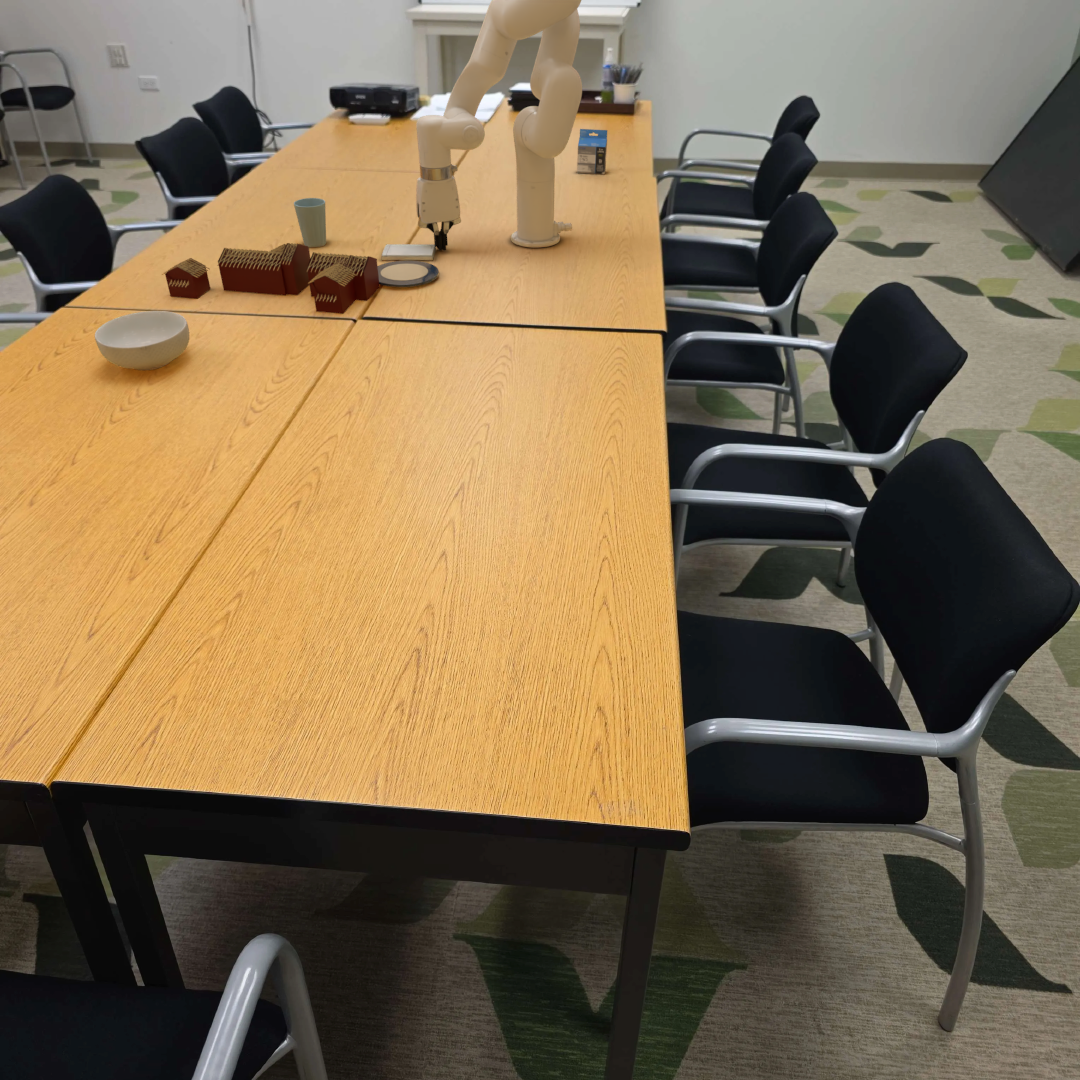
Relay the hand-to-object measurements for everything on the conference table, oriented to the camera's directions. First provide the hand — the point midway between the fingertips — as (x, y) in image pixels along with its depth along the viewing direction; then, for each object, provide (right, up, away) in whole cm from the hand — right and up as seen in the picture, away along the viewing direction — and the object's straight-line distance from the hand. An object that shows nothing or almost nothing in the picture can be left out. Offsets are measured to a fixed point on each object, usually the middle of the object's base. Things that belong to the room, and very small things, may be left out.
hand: (441, 248), depth 229 cm
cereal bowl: (-51, -39, -52) cm, 82 cm away
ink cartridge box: (+41, +43, +61) cm, 85 cm away
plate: (-7, -11, -15) cm, 20 cm away
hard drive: (-8, -2, -2) cm, 8 cm away
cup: (-33, +2, +5) cm, 33 cm away
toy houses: (-36, -17, -22) cm, 45 cm away
